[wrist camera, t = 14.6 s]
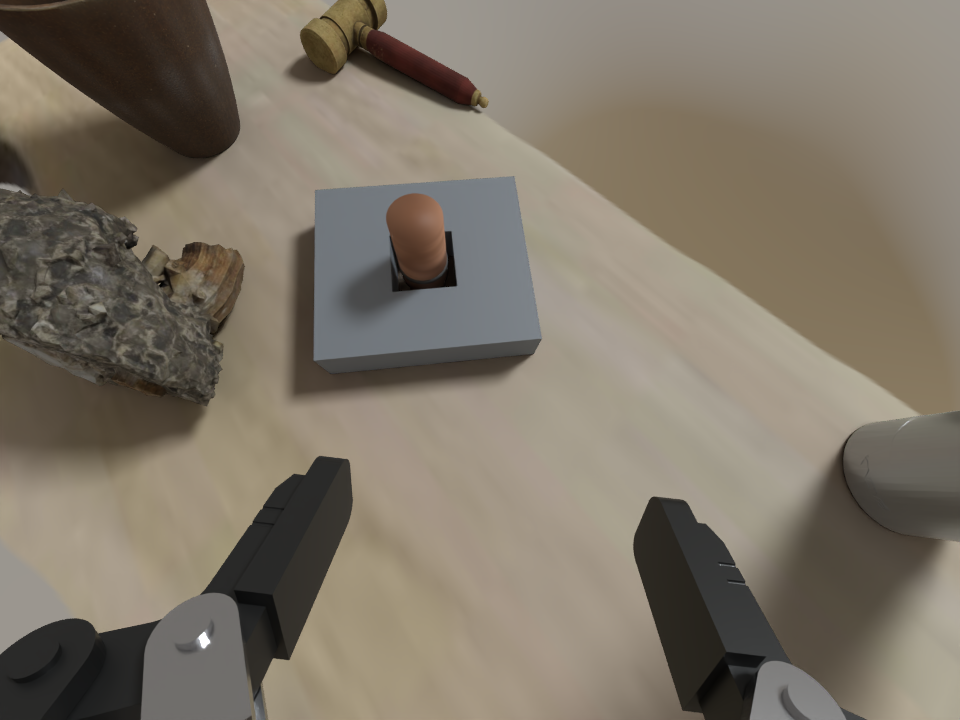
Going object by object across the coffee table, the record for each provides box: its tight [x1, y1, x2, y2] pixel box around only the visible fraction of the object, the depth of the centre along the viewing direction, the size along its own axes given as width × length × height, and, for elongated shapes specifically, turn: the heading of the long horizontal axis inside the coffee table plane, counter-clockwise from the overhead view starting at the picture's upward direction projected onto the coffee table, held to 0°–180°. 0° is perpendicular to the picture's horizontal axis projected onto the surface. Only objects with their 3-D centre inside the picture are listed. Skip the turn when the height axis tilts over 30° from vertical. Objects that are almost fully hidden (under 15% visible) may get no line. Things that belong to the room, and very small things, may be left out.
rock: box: [0, 189, 245, 406], centre depth 28 cm, size 18×14×15 cm
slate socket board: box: [314, 176, 542, 374], centre depth 35 cm, size 18×16×4 cm
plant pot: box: [0, 0, 240, 158], centre depth 34 cm, size 15×15×16 cm
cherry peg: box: [386, 193, 448, 290], centre depth 32 cm, size 4×4×10 cm
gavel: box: [300, 0, 489, 108], centre depth 44 cm, size 21×5×10 cm
